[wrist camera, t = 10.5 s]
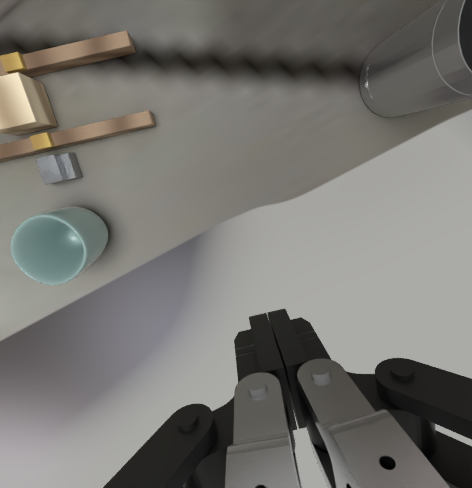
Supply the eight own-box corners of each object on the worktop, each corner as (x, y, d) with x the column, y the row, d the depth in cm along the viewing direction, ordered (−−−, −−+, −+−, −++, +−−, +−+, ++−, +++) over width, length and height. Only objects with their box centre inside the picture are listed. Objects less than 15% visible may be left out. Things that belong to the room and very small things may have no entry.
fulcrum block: (74, 153, 41) (61, 152, 37) (82, 176, 41) (70, 178, 38) (44, 160, 41) (28, 160, 37) (52, 183, 41) (38, 185, 38)
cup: (91, 269, 45) (56, 299, 35) (44, 232, 43) (-6, 252, 33) (127, 230, 43) (101, 249, 34) (80, 190, 42) (40, 198, 32)
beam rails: (132, 38, 38) (124, 27, 35) (156, 126, 40) (151, 123, 37) (-44, 79, 38) (-68, 71, 35) (-9, 164, 40) (-28, 164, 37)
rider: (43, 83, 38) (17, 72, 33) (57, 126, 40) (35, 121, 35) (2, 92, 38) (-29, 82, 33) (18, 135, 40) (-9, 131, 35)
